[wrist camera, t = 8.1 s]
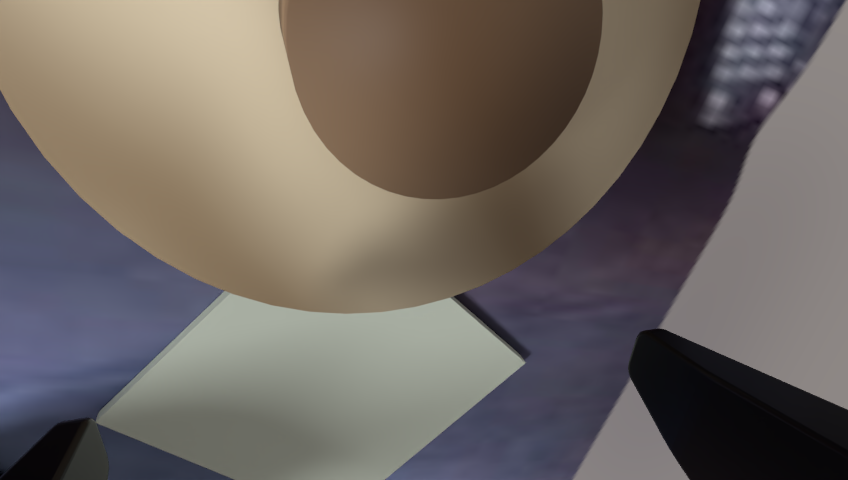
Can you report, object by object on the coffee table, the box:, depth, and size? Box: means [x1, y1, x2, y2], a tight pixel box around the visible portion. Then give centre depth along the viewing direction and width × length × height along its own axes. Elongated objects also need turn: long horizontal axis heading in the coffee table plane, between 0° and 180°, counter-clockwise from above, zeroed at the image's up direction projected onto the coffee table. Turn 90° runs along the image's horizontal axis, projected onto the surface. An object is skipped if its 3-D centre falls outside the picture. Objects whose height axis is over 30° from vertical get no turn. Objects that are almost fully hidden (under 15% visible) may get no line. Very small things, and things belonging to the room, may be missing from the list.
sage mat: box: [95, 291, 525, 480], centre depth 24 cm, size 14×14×1 cm
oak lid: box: [0, 0, 700, 314], centre depth 8 cm, size 13×13×4 cm
